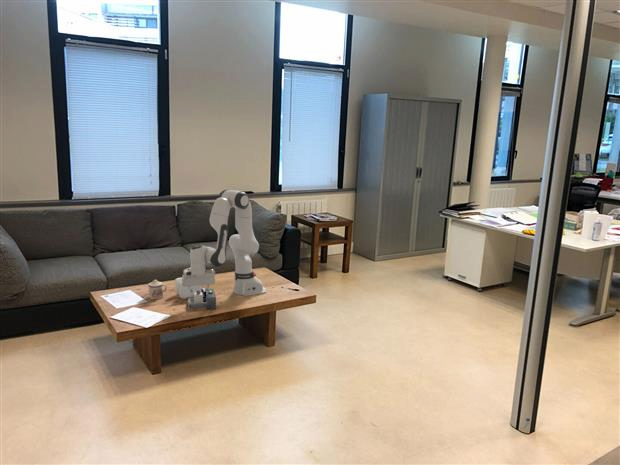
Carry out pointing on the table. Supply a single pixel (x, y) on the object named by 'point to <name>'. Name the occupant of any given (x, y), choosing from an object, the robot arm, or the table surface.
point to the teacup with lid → (156, 289)
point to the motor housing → (208, 304)
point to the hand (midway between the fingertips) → (199, 291)
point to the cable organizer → (185, 289)
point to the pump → (198, 297)
